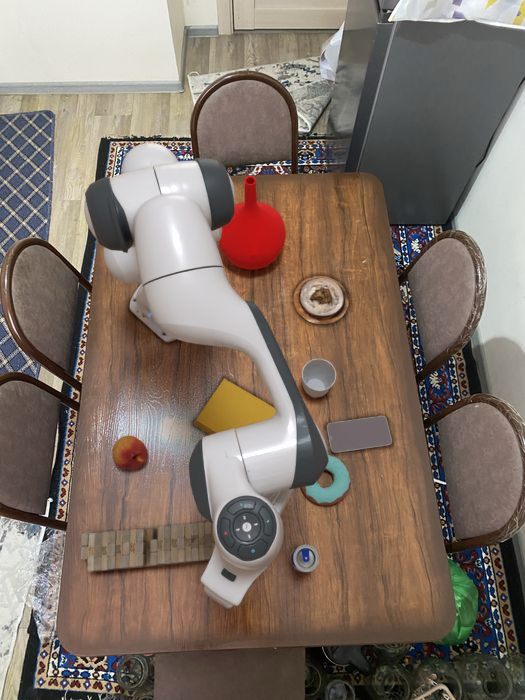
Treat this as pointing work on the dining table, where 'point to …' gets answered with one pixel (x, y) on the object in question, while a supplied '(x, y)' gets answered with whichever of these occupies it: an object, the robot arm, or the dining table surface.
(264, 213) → the vase
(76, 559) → the dining table surface
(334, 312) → the cake on gold board
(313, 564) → the beverage can
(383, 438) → the smartphone
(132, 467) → the fruit
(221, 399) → the yellow box
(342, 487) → the donut
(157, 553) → the block tower
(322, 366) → the cup
